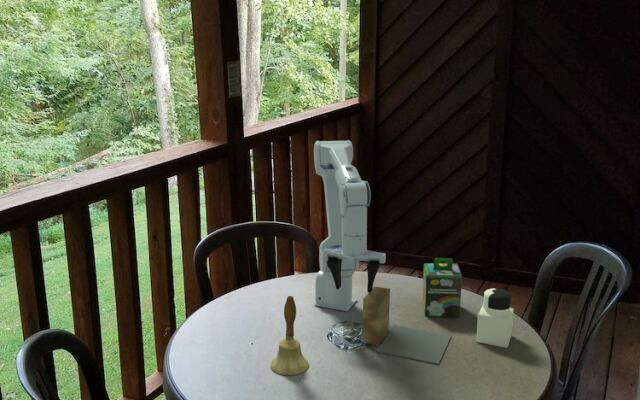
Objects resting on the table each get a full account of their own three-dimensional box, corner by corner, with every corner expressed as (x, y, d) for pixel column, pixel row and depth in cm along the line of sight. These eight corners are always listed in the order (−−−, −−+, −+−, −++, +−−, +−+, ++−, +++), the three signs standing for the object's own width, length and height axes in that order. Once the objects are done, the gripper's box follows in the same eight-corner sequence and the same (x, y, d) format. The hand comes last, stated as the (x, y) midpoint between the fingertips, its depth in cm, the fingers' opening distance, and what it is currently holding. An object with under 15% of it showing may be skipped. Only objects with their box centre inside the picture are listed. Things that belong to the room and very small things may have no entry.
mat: (376, 352, 133) (376, 350, 133) (394, 326, 145) (394, 325, 145) (438, 364, 127) (438, 363, 127) (451, 336, 140) (451, 335, 140)
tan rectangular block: (362, 342, 137) (362, 298, 135) (372, 328, 144) (373, 286, 142) (378, 345, 136) (379, 301, 133) (388, 331, 143) (390, 288, 140)
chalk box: (456, 303, 159) (459, 251, 155) (460, 318, 150) (464, 263, 146) (421, 302, 159) (423, 250, 156) (423, 316, 151) (426, 262, 147)
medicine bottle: (511, 335, 141) (515, 288, 138) (507, 348, 134) (511, 300, 131) (481, 329, 144) (484, 283, 141) (475, 342, 137) (479, 294, 134)
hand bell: (301, 353, 132) (301, 287, 128) (314, 371, 125) (314, 301, 121) (266, 359, 129) (264, 292, 126) (276, 378, 122) (275, 307, 118)
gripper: (319, 235, 135) (319, 291, 137) (381, 240, 130) (380, 298, 133) (328, 228, 141) (328, 282, 144) (387, 232, 137) (386, 288, 140)
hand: (354, 289), depth 139 cm, fingers open, 7 cm apart
